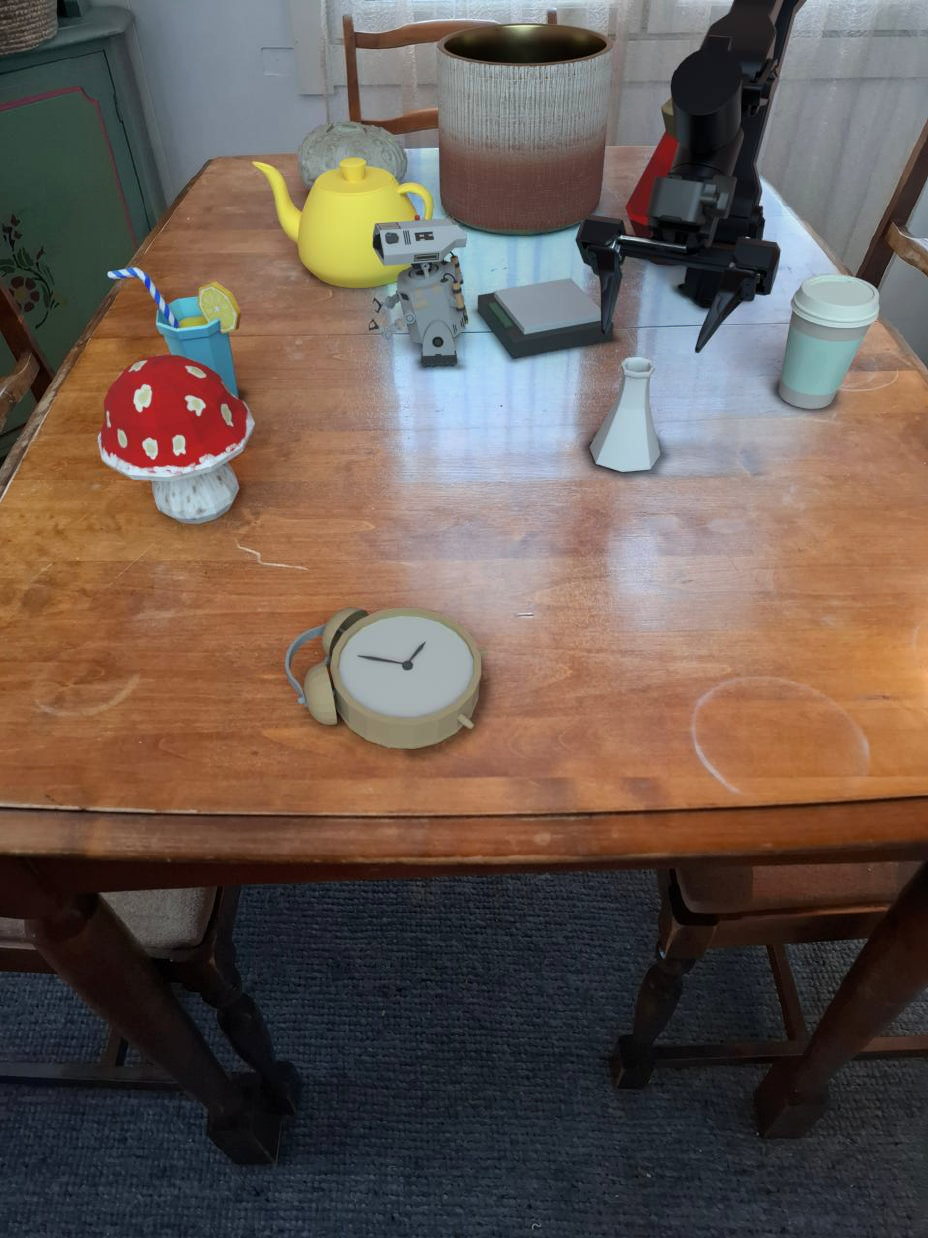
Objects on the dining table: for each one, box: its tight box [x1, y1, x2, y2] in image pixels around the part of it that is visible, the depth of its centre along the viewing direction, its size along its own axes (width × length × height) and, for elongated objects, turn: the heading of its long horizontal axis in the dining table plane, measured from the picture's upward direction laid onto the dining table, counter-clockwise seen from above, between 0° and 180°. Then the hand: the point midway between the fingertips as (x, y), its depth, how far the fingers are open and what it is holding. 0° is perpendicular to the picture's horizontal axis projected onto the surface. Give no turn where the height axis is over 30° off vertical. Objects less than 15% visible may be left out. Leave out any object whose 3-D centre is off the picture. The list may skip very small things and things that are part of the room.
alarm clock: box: [284, 606, 489, 750], centre depth 61 cm, size 11×5×15 cm
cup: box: [107, 266, 242, 399], centre depth 85 cm, size 14×8×15 cm, turn 80°
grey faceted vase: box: [589, 356, 661, 473], centre depth 79 cm, size 7×7×10 cm
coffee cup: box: [778, 273, 880, 410], centre depth 85 cm, size 8×8×12 cm
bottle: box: [624, 97, 679, 267], centre depth 108 cm, size 16×14×20 cm
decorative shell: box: [296, 119, 409, 192], centre depth 130 cm, size 18×18×10 cm
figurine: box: [368, 214, 469, 368], centre depth 92 cm, size 9×12×15 cm
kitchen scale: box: [477, 277, 614, 360], centre depth 100 cm, size 13×13×3 cm
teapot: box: [251, 157, 435, 289], centre depth 109 cm, size 25×18×14 cm
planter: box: [435, 22, 615, 236], centre depth 120 cm, size 25×25×22 cm
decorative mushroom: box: [97, 354, 256, 525], centre depth 72 cm, size 14×14×15 cm
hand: (649, 342), depth 77 cm, fingers open, 9 cm apart
